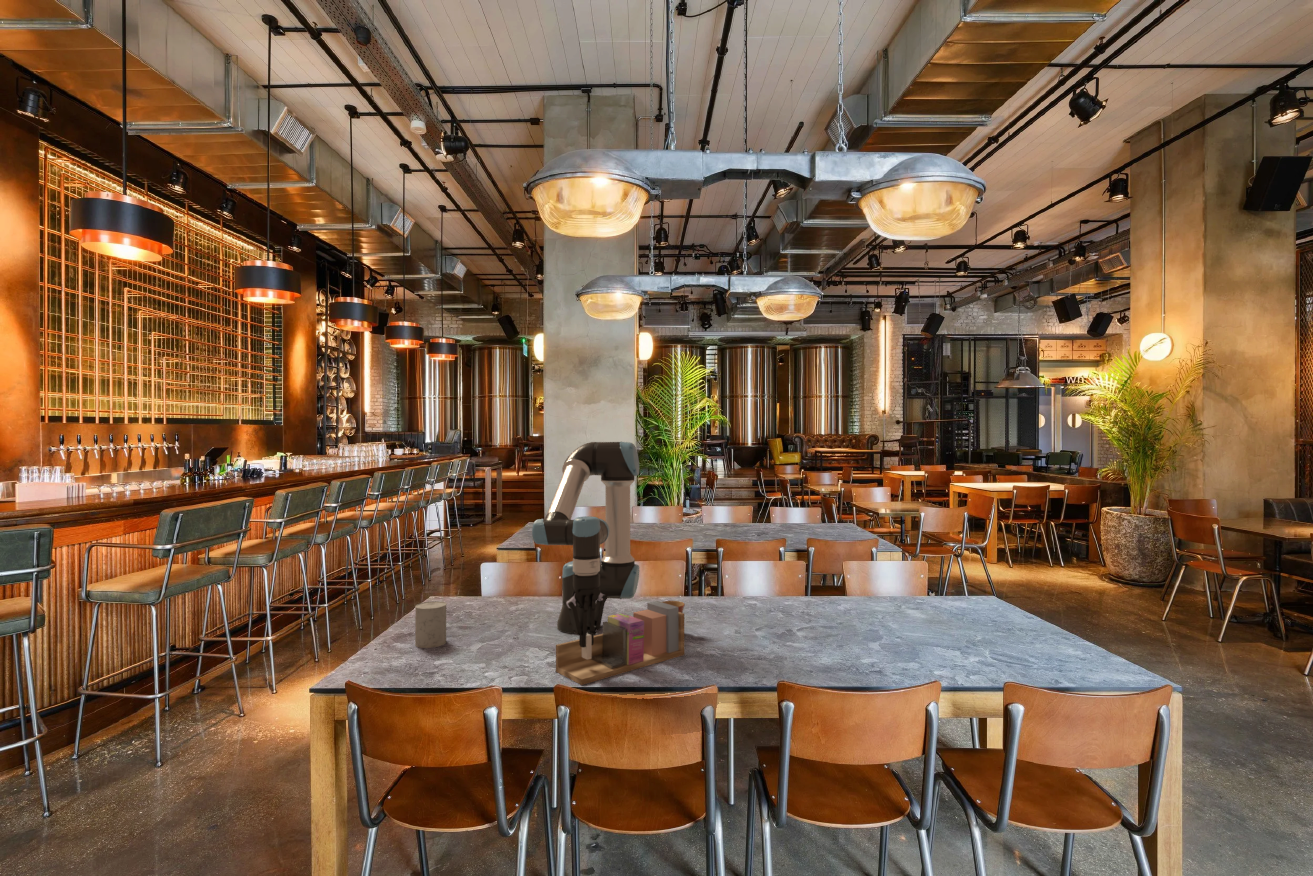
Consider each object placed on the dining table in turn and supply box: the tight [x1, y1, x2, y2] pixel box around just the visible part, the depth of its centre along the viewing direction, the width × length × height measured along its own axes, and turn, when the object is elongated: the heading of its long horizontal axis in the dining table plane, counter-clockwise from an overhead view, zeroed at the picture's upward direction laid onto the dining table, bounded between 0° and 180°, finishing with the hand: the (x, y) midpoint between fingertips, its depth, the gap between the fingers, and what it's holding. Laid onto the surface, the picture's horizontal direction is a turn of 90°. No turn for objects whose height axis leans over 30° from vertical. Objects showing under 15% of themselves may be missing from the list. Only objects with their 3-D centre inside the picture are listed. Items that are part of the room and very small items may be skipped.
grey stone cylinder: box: [414, 600, 448, 649], centre depth 200 cm, size 10×10×12 cm
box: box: [607, 612, 644, 665], centre depth 181 cm, size 10×6×12 cm, turn 40°
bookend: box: [591, 621, 627, 669], centre depth 178 cm, size 10×5×10 cm, turn 40°
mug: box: [662, 600, 686, 613], centre depth 208 cm, size 12×9×10 cm
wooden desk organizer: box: [555, 612, 685, 686], centre depth 182 cm, size 13×37×12 cm, turn 130°
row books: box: [632, 600, 679, 656], centre depth 189 cm, size 10×10×13 cm
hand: (586, 657), depth 173 cm, fingers closed
